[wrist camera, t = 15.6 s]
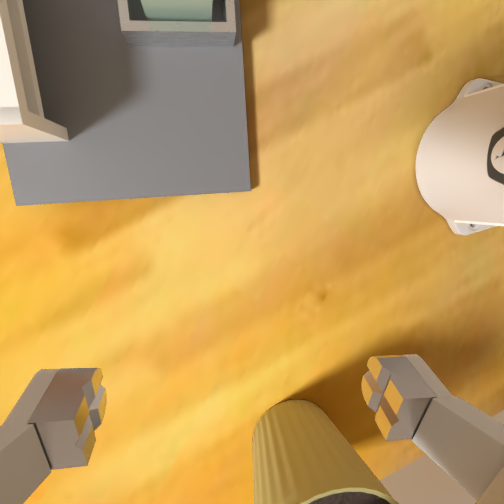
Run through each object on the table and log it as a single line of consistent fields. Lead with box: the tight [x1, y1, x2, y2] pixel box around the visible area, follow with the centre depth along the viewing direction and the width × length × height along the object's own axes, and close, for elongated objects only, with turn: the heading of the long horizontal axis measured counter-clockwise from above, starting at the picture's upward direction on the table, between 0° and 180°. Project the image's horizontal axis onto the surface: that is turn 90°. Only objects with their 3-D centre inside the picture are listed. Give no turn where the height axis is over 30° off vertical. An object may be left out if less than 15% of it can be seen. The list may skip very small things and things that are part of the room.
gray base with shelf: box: [0, 0, 251, 206], centre depth 26 cm, size 24×24×9 cm
